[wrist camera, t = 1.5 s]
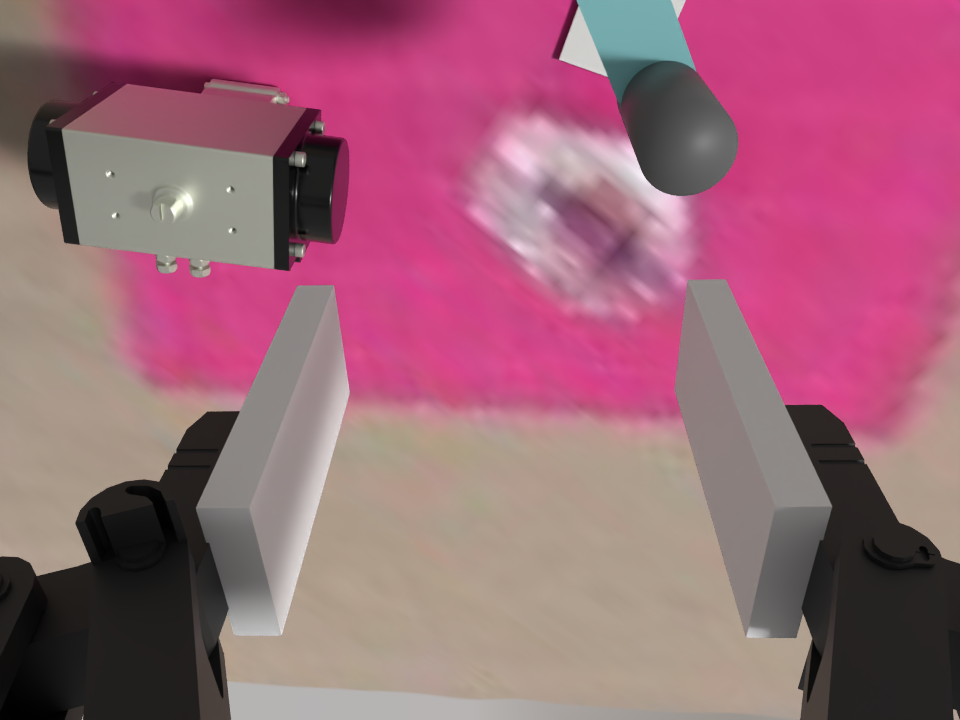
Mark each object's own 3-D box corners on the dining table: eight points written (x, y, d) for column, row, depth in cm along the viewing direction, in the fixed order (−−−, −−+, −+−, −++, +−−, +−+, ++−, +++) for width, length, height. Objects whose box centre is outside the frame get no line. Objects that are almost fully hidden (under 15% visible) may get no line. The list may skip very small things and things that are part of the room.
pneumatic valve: (122, 50, 39) (-13, 131, 29) (370, 84, 39) (322, 174, 29) (135, 163, 42) (17, 271, 32) (364, 192, 42) (320, 309, 32)
